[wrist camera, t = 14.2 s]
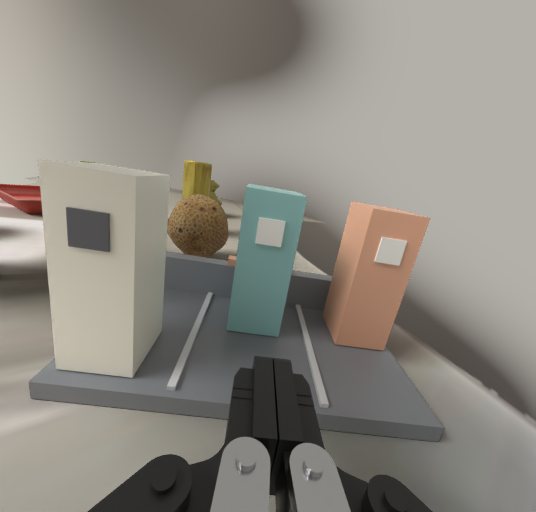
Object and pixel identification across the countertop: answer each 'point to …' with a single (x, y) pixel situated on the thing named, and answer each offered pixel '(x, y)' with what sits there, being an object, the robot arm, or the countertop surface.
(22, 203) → the plant saucer
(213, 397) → the grey divided tray
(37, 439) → the countertop surface
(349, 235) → the key terracotta
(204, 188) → the vase
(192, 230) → the natural sponge
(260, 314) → the key teal
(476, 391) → the countertop surface
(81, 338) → the key cream
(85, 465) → the countertop surface
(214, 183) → the olive glossy tiered piece
